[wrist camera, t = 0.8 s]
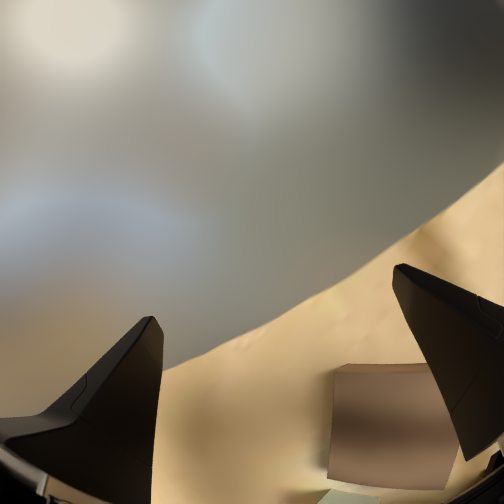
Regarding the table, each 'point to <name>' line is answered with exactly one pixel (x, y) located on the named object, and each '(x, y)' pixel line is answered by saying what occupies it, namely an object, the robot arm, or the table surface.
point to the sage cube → (347, 498)
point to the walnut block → (390, 428)
